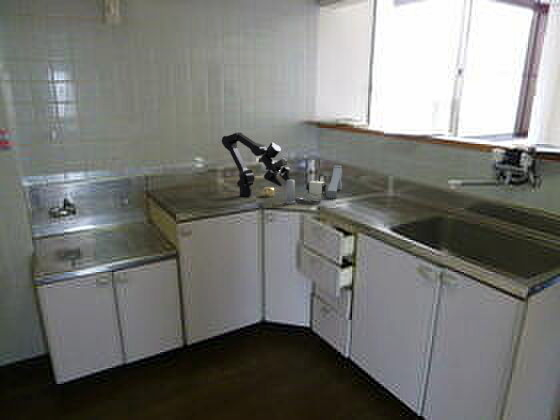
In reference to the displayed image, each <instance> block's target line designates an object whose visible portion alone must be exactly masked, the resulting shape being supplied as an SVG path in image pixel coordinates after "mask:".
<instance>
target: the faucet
mask: <svg viewBox="0 0 560 420" xmlns="http://www.w3.org/2000/svg"><path fill="white" fill-rule="evenodd" d="M342 178H343V169H342V165H334V166H333V171H332V177H331V180H330V183H329V185H328V191H327V192H326V193H325V194H326V198H329V199H337V197H338V194H337V193H338V191H342V187H343V184H342Z"/></svg>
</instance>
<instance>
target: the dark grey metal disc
mask: <svg viewBox="0 0 560 420" xmlns="http://www.w3.org/2000/svg"><path fill="white" fill-rule="evenodd" d="M305 199H306V198H305V197H304V196H296V197H295V202H302V201H305Z"/></svg>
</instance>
